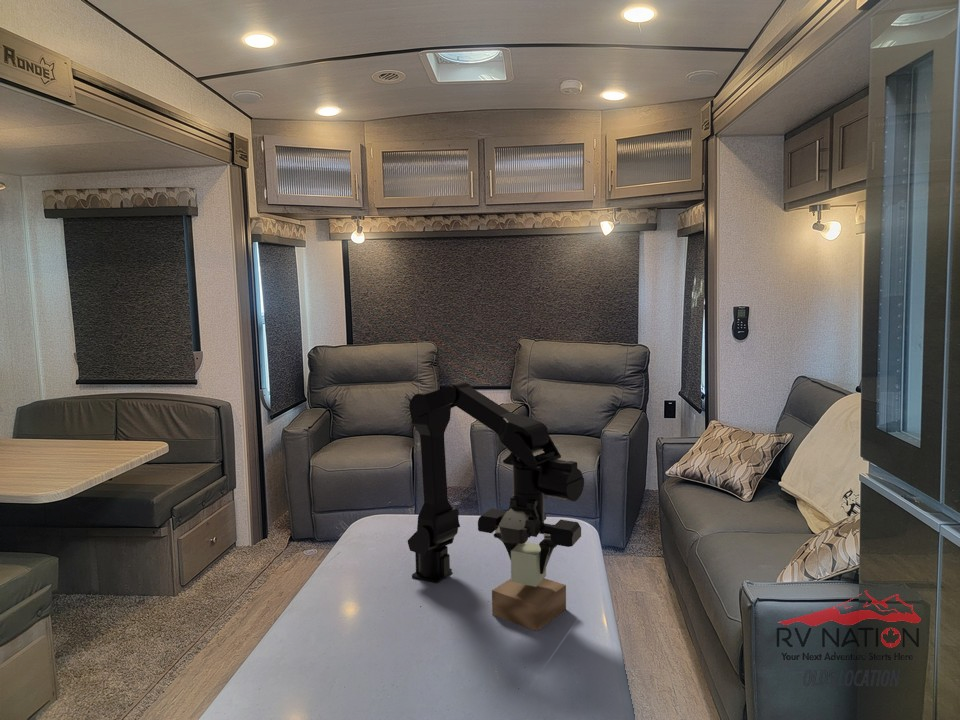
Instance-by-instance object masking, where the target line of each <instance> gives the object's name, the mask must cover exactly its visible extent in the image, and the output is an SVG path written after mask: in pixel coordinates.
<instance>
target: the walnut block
mask: <svg viewBox="0 0 960 720" xmlns="http://www.w3.org/2000/svg"><path fill="white" fill-rule="evenodd" d="M491 604H492V605H491V606H492V607H491V610H492V611H491V612H492V616H494V615H495V617H498V618H500V619H502V618H503V620H506V621H508V622H510V621H511V622H510V623H514V624H516V625H519V626H521V627H525V628H527V629H530V630H532V631H535V632H539V631H540V630H541V629H542V628H543V627H545V626H546V625H548V624H549V623H550V622H551V621H554V619H555V618H557V617H558V616H559V615H560V614H562V613H563V612H564V611H566V610H567V585H566V584H564V583H561V582H558V581H554V580H551V579H549V578H546V577H545V578H544V579H543V580H542V581H541V582H540V583H539V584H538V586H537V587H534V586H530V585H525V584H520V583H515V582H511V578H509V579H507V580H506V581H504V582H503V583H501V584H499V585H498V586H497V587H495V588H494V589H491Z"/></svg>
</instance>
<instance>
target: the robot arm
mask: <svg viewBox="0 0 960 720" xmlns="http://www.w3.org/2000/svg"><path fill="white" fill-rule="evenodd" d="M455 407H457V408H458V409H460V410H461V411H462V412H464V413H466V414H467V415H469V416H471V418H473V419H474V420H476V421H478V422H479V423H481V424H482V425H483V426H485V427H486V428H488V429H490V430H491V431H492V432H494V434H496V435H497V436H498V438H499V441H500V443H501V444H502V445H503V446H504V447H505V448H506V450H508V452H510V454H509V455H508V456H506V458H504V459H503V460H502V462H503V464H504V465H510V466H512V496H511V497H510V499H509V500H510V501H509V507H508V510H503V509H497V508H490V509H488V510H487V511H486V512H484V513H483V514H481V515H479V517H478V521H477V531H479V532H480V533H481V532H482V533H485V534H486V533H488V534H493V533H494V532H495V533H494V534H493V538H495V539H498V540H500V541H501V542H502V544H503V546H504V548H505V549H506V552H507V554H508V557H509V560H510V561H511V550H512V549H513V548H515V547H516V546H517V545H518V544H523V543H525V542H528V539H529V538H531V537H534V538H537V537H538V535H539V534H540V535H543V540H541V541H540V542H539V543H538V544H539V546H540V548H541V556H540V574H543V573H544V572H545V569H546V570H547V566H548V564H549V561H550V558H551V556H552V554H553V552H554V550H555V549H556V547H558V546H561V547H567V548H570V547H573V546H574V545H576V543H577V542H578V541H579V540H580V538H581V537H582V526H581V524H580V523H579V522H577V521H573V520H567V519H559V520H558V521H557V522H556V523H554V524H552V523H551V524H550V523H545V521H546V520H547V513H545V499H547V496H548V497H552V498H556V499H561V500H565V501H570V502H576V501H577V500H579V499H580V497H581V496H582V494H583V492H584V486H585V478H584V475H583V472H582V471H581V470H580V469H579V468H578V462H577V461H575V460H574V461H573V460H563V459H561V458H562V455H561V453H560V452H559V450H558V448H557V446H556V445H555V443H554V441H553V440H552V437H551V436H550V434H549V431H548V427H547V426H546V424H544V423H543V422H541V421H539V420H537V419H534V418H533V417H530V416H526V415H522V414H521V415H520V414H517V413H513V412H511V411H509V410H507V409H506V408H504V407H503V406H501V404H498V403H497V402H495V401H493V400H492V399H490V398H489V397H487V396H486V395H485V394H483V393H481V392H479V391H477V389H475V388H473V387H472V385H470V383H468V382H465V381H460V382H455V383H449V384H448V385H446V386H444V387H442V388H440V389H436V390H430V391H427V392H426V391H425V392H420V393H419V392H418V393H416V394H414V395H413V396H412V398H411V399H410V400H409V412H410V418H411V423H412V425H413V426H414V429H415V430H416V431H417V432H418V434H419V440H420V456H421V457H420V458H421V469H422V471H421V472H422V473H421V474H422V485H423V504H422V507H421V508H420V511H419V514H418V516H417V525H416V531H415V532H414V533H413V534H412V535H411V536H410V538H409V539H407V545H408V549H409V551H411V552H413V553H414V554H415V572H414V573H412V574H411V577H412V579H416V580H422V581H427V582H431V583H435V584H438V583H440V582H441V581H442V580H443V579H444V578H446V577H447V576H448V575H450V574H451V573H452V572H453V568H451V566H450V565H451V564H450V563H451V560H450V554H449V553H448V549H449V548H448V546H449V545H451V544H453V542H454V539H455V537H456V535H457V534H458V532H459V528H460V527H461V524H460V520H459V519H460V518H459V516H460V515H459V509H458V508H454V507H453V505H452V504H451V502H449V499H448V497H449V496H448V483H447V482H448V479H447V478H448V477H447V465H446V463H447V462H446V447H445V432H446V430H447V427H448V425H449V423H450V420H451V409H452V408H455ZM542 451H543V453H539V452H542ZM535 453H539V454H537V455H534V454H535Z"/></svg>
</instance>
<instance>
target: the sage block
mask: <svg viewBox="0 0 960 720" xmlns="http://www.w3.org/2000/svg"><path fill="white" fill-rule="evenodd" d="M540 556H541V548H540V546H539V543H535V542H530V541H529V542H528V541H527V542H525V543H523V544H518V545H517V546H516V547H515V548H513V549H512V550H511V560H510V579H511V582H515V583H520V584H525V585H530V586H534V587H537V586H538V584H539V583H540V582H541V581H542V580H543V579H544V578H545V579H546V577H547V568H546V569H545V572H544V573H543V574H540Z"/></svg>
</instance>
